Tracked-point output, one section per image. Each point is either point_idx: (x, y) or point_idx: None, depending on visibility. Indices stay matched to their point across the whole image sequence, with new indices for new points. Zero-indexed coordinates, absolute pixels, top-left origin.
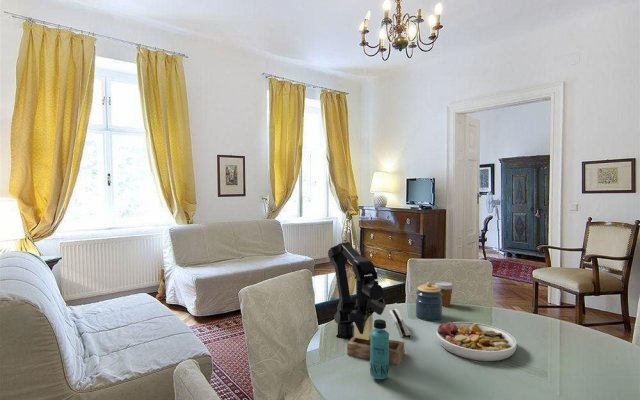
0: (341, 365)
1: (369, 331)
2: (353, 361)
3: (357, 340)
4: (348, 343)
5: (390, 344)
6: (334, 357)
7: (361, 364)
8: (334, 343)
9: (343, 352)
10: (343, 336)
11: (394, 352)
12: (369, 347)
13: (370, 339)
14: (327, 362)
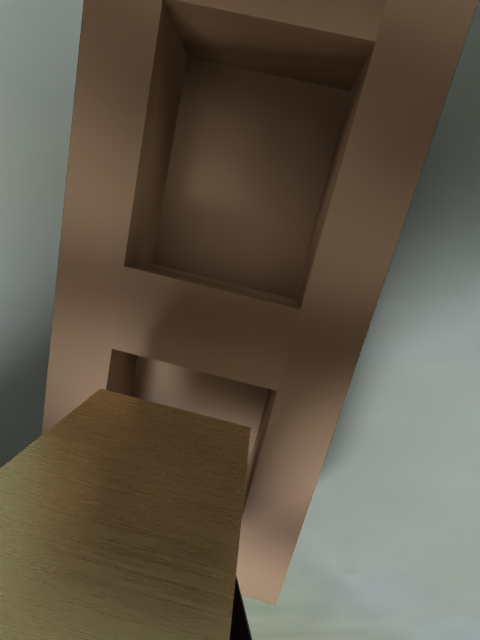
0: (447, 540)
1: (220, 518)
2: (375, 466)
3: None
4: (277, 594)
5: (154, 150)
6: (328, 584)
7: (420, 410)
8: None
9: None
10: None
11: (450, 70)
12: (343, 397)
13: (110, 387)
14: (408, 620)
